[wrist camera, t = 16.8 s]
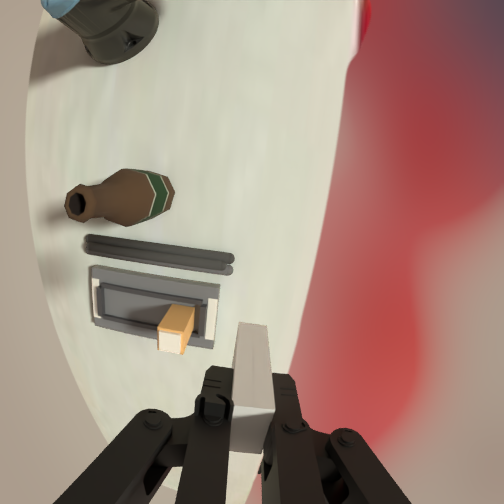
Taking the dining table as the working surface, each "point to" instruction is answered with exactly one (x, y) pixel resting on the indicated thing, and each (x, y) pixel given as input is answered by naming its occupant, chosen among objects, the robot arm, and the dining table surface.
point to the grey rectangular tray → (152, 303)
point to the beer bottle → (122, 198)
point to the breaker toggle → (175, 329)
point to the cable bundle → (160, 254)
